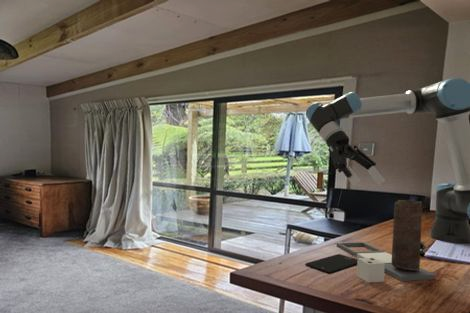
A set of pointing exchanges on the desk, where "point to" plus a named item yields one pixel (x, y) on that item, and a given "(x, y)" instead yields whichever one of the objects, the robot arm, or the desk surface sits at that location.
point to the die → (370, 269)
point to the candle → (407, 235)
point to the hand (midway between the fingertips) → (370, 184)
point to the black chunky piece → (422, 249)
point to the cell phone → (333, 263)
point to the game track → (387, 262)
